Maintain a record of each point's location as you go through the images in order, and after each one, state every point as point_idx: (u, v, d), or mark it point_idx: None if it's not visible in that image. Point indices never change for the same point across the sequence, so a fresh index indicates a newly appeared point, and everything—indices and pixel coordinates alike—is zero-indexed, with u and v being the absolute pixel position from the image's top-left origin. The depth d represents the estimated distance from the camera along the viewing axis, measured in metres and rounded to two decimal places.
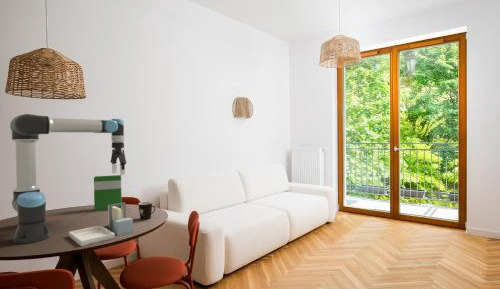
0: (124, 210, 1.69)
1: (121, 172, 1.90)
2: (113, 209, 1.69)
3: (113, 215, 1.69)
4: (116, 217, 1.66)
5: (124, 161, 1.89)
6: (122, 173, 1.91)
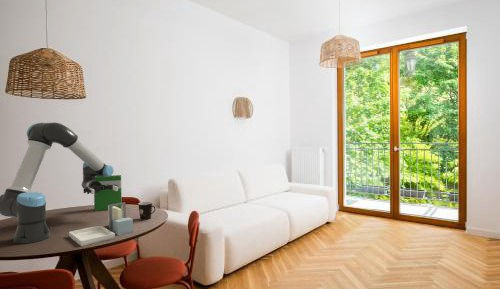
0: (124, 210, 1.69)
1: None
2: (113, 209, 1.69)
3: (113, 215, 1.69)
4: (116, 217, 1.66)
5: None
6: None
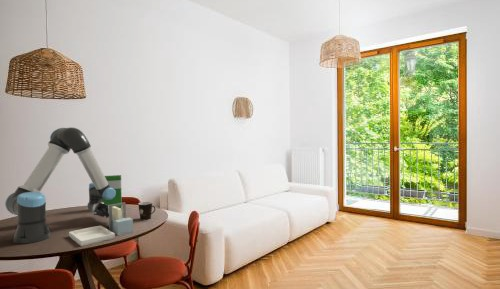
0: (124, 210, 1.69)
1: None
2: (113, 209, 1.69)
3: None
4: (116, 217, 1.66)
5: None
6: None
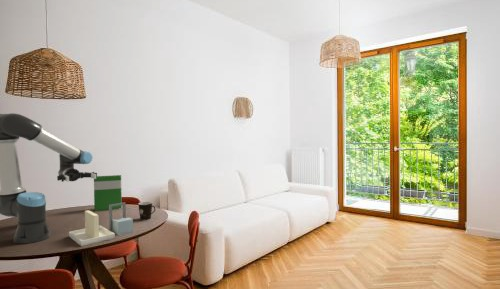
0: (124, 210, 1.69)
1: None
2: (89, 215, 1.52)
3: (89, 222, 1.52)
4: (92, 224, 1.49)
5: None
6: None
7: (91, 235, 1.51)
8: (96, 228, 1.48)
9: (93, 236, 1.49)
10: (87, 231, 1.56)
